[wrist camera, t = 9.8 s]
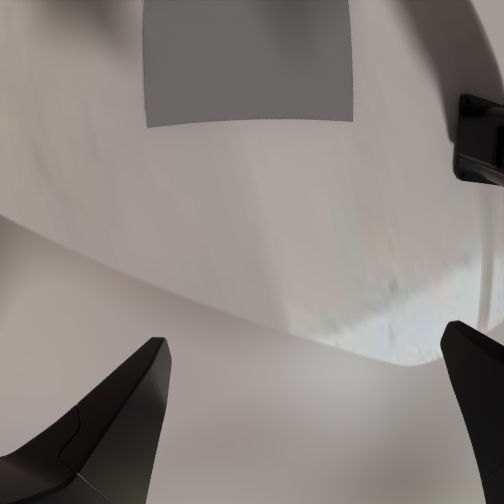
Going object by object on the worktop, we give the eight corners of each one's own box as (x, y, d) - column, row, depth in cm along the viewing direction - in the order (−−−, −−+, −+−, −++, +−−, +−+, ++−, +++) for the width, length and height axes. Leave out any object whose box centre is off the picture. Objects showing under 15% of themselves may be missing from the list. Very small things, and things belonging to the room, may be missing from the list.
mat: (337, -41, 12) (342, -48, 11) (347, 121, 17) (352, 121, 16) (152, -35, 12) (146, -41, 11) (153, 126, 17) (147, 128, 16)
